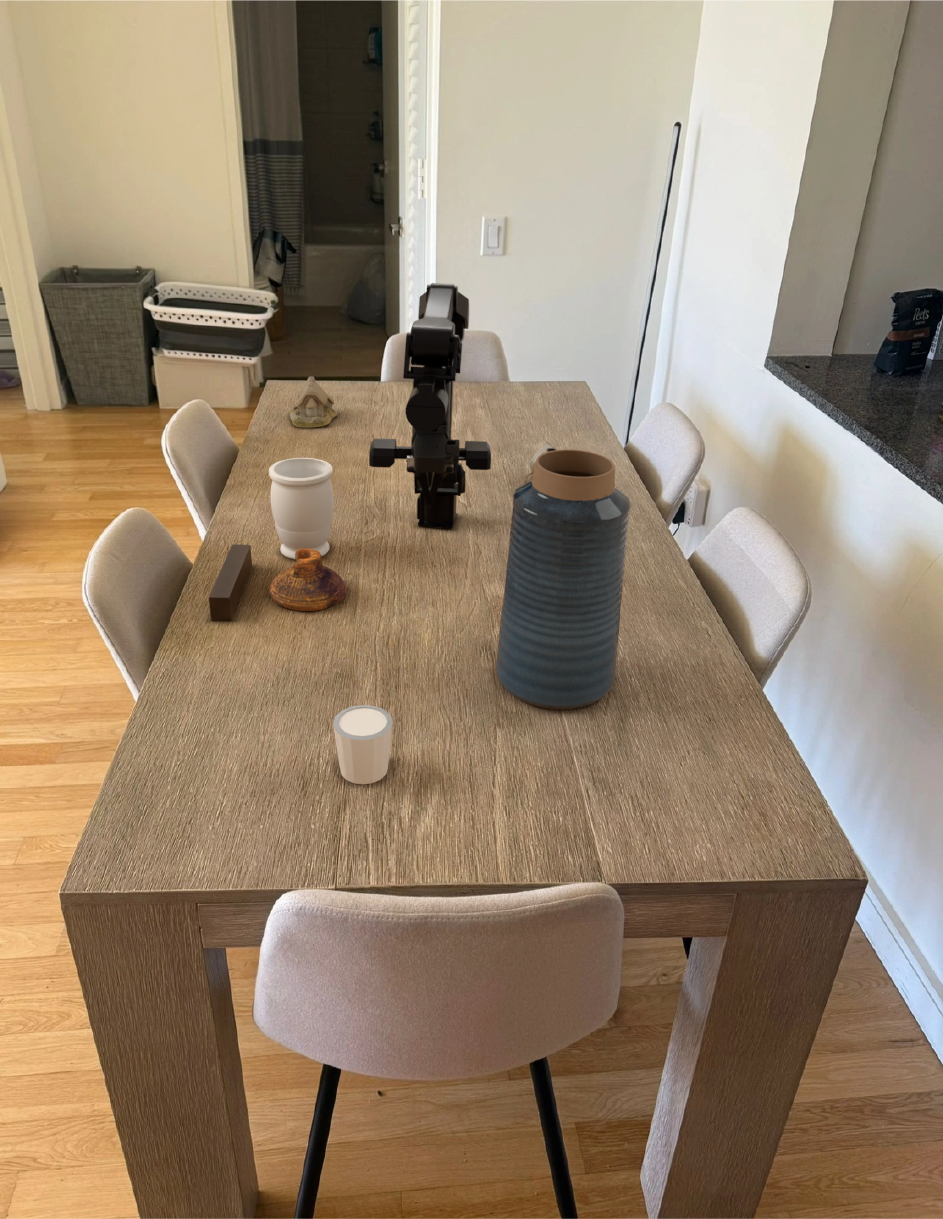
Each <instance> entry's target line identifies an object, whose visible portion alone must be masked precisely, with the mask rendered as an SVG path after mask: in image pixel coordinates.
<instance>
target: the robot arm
mask: <svg viewBox="0 0 943 1219" xmlns="http://www.w3.org/2000/svg"><path fill="white" fill-rule="evenodd" d="M418 301H419V302H418V314H417V318H418V319H417V320H414V321H413V323H412V325H411V329H410V332H406V334H405V346H404V347H405V348H404V362H403V374H402V375H403V376H402V377H403V378H402V379H405V380H406V379H407V380H412V389H411V391H410V394H409V397H408V400H407V403H406V406H405V418H406V420H407V422H408V423H409V425H410V426H411V427H412V428H411V431H412V432H411V434H412V435H411V442H410V443H411V445H410V446H402V445H401V446H400V445H399V446H398V445H397V438H374V439H372V441H370V446H369V455H368V457H369V458H368V460H369V461H368V462H369V464H368V465H369V467H372V468H387V469H388V468H391V467H392V466H394V464H395V463H396V460H405V462H406V472H407V473H412V474H413V483H414V484H413V486H414V494H415V495H418V494H419V495H418V496H417V498H416V519H417V520H418V522H417V527H422V528H431V529H440V530H453V529H454V526H455V524H456V523H457V522H456V521H457V519H458V516H459V514H458V513H457V498H458V497H461V496H462V494H465V493H466V481H467V480H466V470H465V469H464V467H463V463H460V461H462V462H463V461H464V462H465V466H466V467H467V468H468V469H469V470H472V471H489V470H491V466H492V452H491V451H492V450H491V445H490V443H489V442H488V441H482V440H480V441H479V440H478V441H477V440H465V442H464V447H460V439H452V428H453V426H452V425H453V405H454V404H453V403H454V402H453V401H454V383H455V382H456V380H457V374H461V372H462V371H461V368H462V357H463V356H462V355H463V342H464V339H465V333H466V332H465V330H469V327H470V326H469V324H470V299H469V298H468V297H466V296H465V295H464V294H463V293H461V292H460V291H459V286H458V285H455V284H454V283H440V282H439V283H437V282H436V283H435V282H432V283H430V284H426V291H425V292H424V293H423V294H421V295H420V296H419V300H418ZM410 365H411V366H410Z"/></svg>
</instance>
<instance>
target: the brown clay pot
mask: <svg viewBox="0 0 943 1219" xmlns="http://www.w3.org/2000/svg"><path fill="white" fill-rule="evenodd" d="M295 559H296V560H295ZM295 559H294V560H295V562H296V563H295V564H294V565H292V566H290V567H287V568H286V569H284V570H281V572H279V573H278V574H277V575H275V577H274V579H273V580H272V581H271V583H270V585H269V596H270V598H271V599H272V601H273V602H274V603H275V604H277V605H278V606H280V607H283V608H285V609H289V610H292V611H293V610H294V611H299V612H300V611H301V612H314V611H315V612H316V611H320V610H325V609H327V608H329V607H331V606H333V605H336V604H339V603H340V602H342V601H343V599H344V598H345V596H346V594H347V585H346V584H345V581H344V580H343V579H342V578H341V576H340V575H339V573H337V572H336V571H335V570H333V569H332V568H330V567H328V566H326V565H323V556H321V554H320V552H319V551H317V550H312V549H305V548H303V549H298V550H297V551H296V553H295Z"/></svg>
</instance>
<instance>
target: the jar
mask: <svg viewBox="0 0 943 1219" xmlns="http://www.w3.org/2000/svg"><path fill="white" fill-rule="evenodd" d="M332 476H333V466H332V464H330V463H329V462H327V461H326V460H322V459H319V458H313V457H292V458H286V459H282V460H279V461H277V462H274V463H273V464H271V465H270V466H269V468H268V477H269V478H270V479H271V480H272V481H271V487H270V508H271V514H272V518H273V520H274V526H275V531H276V533H277V536H278V538H279V539H280V542H281V545H280V548H279V550H280V553H281V554H282V556H284V557H286V558H288V559H290V560H295V561H296V559H295V553H296V551H297V550H298V549H303V548H305V549H312V550H317V551H319V552H320V554H321V556H322V557H324V556H325V555H326V554H328V552H329V551H330V543H329V542H328V539H329V537H330V535H331V531H332V525H333V518H334V508H335V506H334V505H335V500H334V499H335V497H334V491H333V490H334V489H333V485H332V484H333V483H332V480H331V477H332Z"/></svg>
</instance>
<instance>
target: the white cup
mask: <svg viewBox="0 0 943 1219" xmlns="http://www.w3.org/2000/svg"><path fill="white" fill-rule="evenodd" d="M393 723H394V721H393V718H392V715H391V714H390V713H389V712H388V711H387V710H386V709H384V708H381V707H378V706H376V705H370V704H360V705H359V704H358V705H352V706H349V707H347V708H344V709H342V710H341V711H340V712H338V714H336V715H335V717H334V719H333V721H332V726H333V732H334V738H335V739H334V740H335V744H336V745H335V746H336V751H337V757H338V765H339V770H340V774H341V776H342V777H343V778H344V779H345V780H346V781H347V782H350V783H352V784H355V785H356V784H357V785H369V784H375V783H376V782H378V781H381V780H382V779H383V778H384V777H385V776H386V775H387V773H388V769H389V762H390V754H391V753H390V751H391V743H392V733H393Z"/></svg>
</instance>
